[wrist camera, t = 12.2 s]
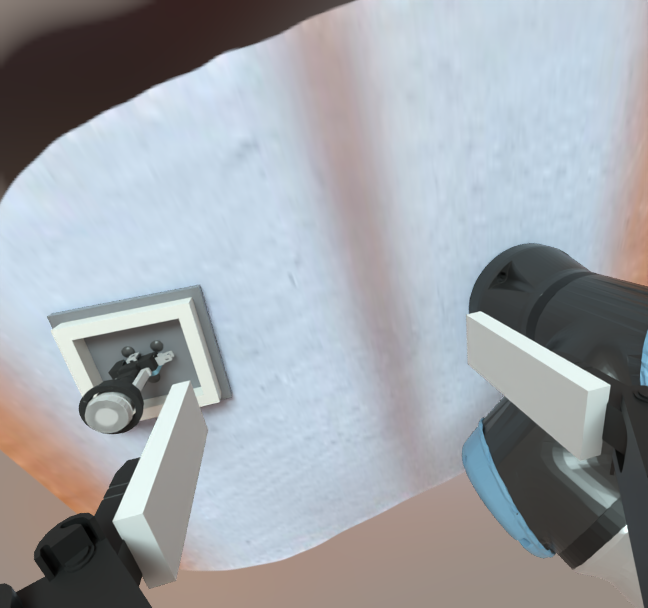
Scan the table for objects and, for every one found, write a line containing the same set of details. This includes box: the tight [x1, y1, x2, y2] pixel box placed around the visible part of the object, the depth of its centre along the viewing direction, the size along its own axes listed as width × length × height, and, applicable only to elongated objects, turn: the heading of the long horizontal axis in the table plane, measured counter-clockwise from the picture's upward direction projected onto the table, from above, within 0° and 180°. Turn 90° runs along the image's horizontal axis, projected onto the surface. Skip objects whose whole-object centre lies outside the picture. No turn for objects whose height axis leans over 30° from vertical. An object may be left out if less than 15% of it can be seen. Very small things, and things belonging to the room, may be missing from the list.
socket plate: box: [47, 285, 232, 421], centre depth 40 cm, size 16×15×3 cm
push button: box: [79, 351, 174, 434], centre depth 36 cm, size 7×5×10 cm
